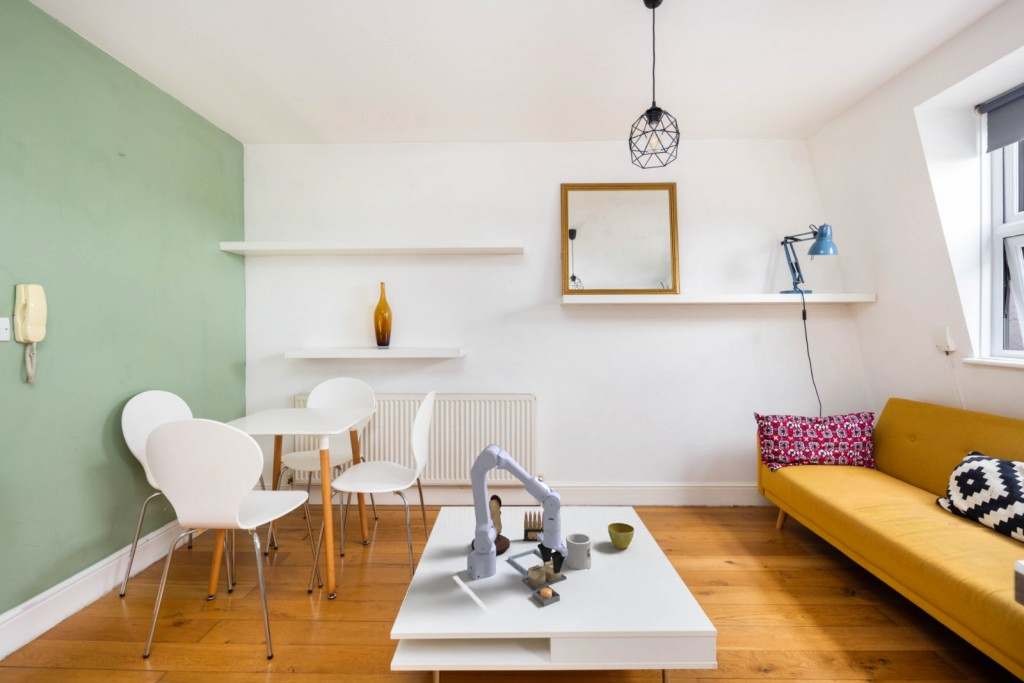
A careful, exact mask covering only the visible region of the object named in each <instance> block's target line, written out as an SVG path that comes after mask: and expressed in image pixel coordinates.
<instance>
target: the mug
mask: <svg viewBox="0 0 1024 683" xmlns="http://www.w3.org/2000/svg"><path fill="white" fill-rule="evenodd" d="M565 542H566V548H567V549H568V556H566V557H565V565H566V566H568V567H569V568H570V569H573V570H579V571H581V570H590V569H591V568H592V557H591V545H592V539H591V537H590V536H589V535H587V534H585V533H580V532H573V533H569V534H567V535H566V537H565Z"/></svg>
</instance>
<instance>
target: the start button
mask: <svg viewBox="0 0 1024 683" xmlns="http://www.w3.org/2000/svg"><path fill="white" fill-rule="evenodd" d="M551 589H552V588H551ZM551 589H549V588H542V589H541V590H540V596H542V597H543V598H544V599H546V598H548V597H551V596H552V590H551Z"/></svg>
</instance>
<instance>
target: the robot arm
mask: <svg viewBox="0 0 1024 683" xmlns="http://www.w3.org/2000/svg"><path fill="white" fill-rule="evenodd" d="M495 467H496V470H506V471H507V472H508V473H510V474H512V476H514V477H515V478H516V479H518V481H520V482H521V483H522V484H524V489H525V491H526V492H528V494H530V496H532V497H533V498H534V499H535V500H537V501H538V502H539V503H540V504H542V508H543V511H544V534H542V532H541V534H537V540H538V541H537V542H540V543H537V549H538V550H539V551H540V553H541V555H542V557H541V559H542V563H543V565H544V564H545V562H549V561H551V559H552V561H553V569H554V573H555V574H557V573H560V571H561V572H562V566H563V564H564V561H565V560H566V556H568V549H567V547H566V546H565V545H564V543H563V542H564V540H563V539H562V537H561V535H562V534H561V533H562V531H561V529H562V525H561V524H562V523H561V522H562V520H561V519H562V516H561V515H562V514H561V503H562V497H561V494H560V492H558V490H556V489H554V488H552V487H549V486H548V485H547V484H546V483H545V482H544V481H543V478H542V477H540V476H539V477H538V476H537V475H530V474H529V473H528V472H527V471H526V470H525V469H524V468H523V467H522V466H521V465H520V464H519V463H518V462H517V461H516V460H514V459H513V457H512V456H511V455H510V454H509V453H508V452H507V451H506V450H504V448H503V449H502V448H501V446H500V445H498V444H496V443H492V444H491V443H490V444H489V445H487V446H486V447H485V448H484V449H483V450H482V451H481V452H480V454H478V455H477V457H476V459H475V461H474V462H473V465H472V468H471V469H470V481H471V489H472V498H473V506H474V507H473V508H474V515H475V529H474V538H475V540H474V548H475V550H472V551H471V552H469V553H468V554H467V557H466V558H467V560H466V561H467V562H466V564H467V566H466V567H467V569H466V570H467V571H466V572H467V574H468V575H469V576H470V577H471V578H472V580H474V581H478V580H483V579H485V578H491V577H494V576H495V575H496V574H497V554H496V546H495V544H494V540H495V539H496V537H497V531H496V529H495V528H494V526H493V521H492V520H491V516H490V508H489V501H490V499H489V494H488V484H487V483H488V482H487V475H486V474H487V473H488V472H489V471H491V470H493V469H494V468H495ZM553 550H554V551H553Z"/></svg>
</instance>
